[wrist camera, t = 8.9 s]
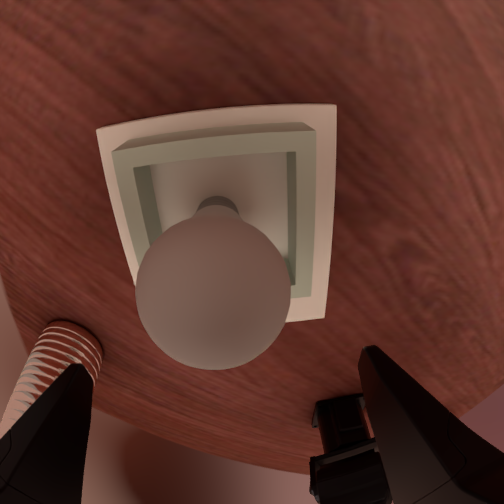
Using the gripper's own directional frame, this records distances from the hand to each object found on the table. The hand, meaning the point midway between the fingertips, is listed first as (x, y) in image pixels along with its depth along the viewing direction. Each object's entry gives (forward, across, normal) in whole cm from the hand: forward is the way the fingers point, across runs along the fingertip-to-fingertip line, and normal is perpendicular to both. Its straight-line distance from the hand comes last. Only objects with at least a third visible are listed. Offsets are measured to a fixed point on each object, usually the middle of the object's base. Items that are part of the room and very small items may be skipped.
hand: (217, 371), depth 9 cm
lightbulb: (+12, 0, 0) cm, 12 cm away
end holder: (+13, 0, +2) cm, 13 cm away
